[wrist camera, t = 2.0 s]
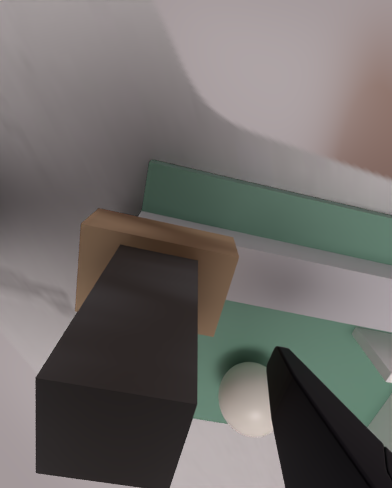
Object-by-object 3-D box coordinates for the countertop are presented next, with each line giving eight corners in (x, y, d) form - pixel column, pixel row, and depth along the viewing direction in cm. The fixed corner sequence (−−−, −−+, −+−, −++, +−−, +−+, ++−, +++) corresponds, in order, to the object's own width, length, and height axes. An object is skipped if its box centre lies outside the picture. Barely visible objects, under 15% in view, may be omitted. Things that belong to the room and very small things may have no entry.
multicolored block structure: (92, 371, 19) (-10, 611, 9) (111, 196, 14) (-55, 341, 5) (181, 386, 19) (166, 628, 10) (229, 222, 14) (281, 399, 5)
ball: (210, 386, 20) (212, 447, 16) (225, 343, 18) (231, 399, 14) (265, 395, 20) (280, 458, 16) (284, 354, 18) (306, 412, 15)
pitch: (115, 392, 21) (95, 458, 17) (152, 159, 14) (133, 174, 10) (371, 435, 23) (409, 503, 19) (514, 243, 16) (621, 285, 12)
